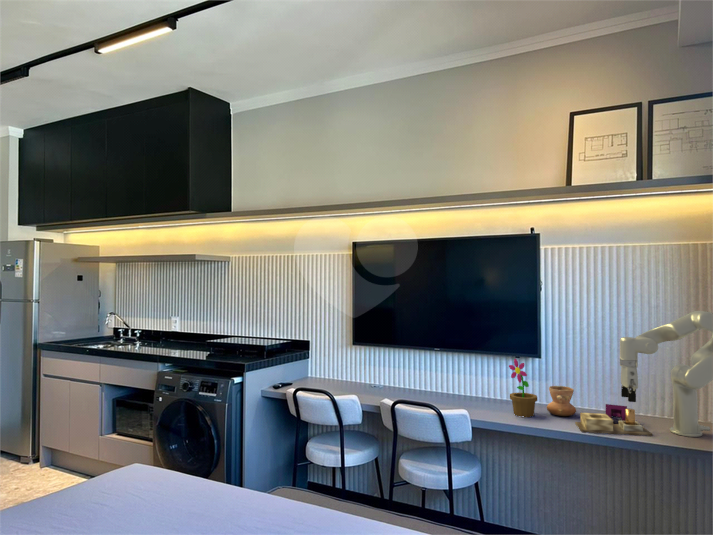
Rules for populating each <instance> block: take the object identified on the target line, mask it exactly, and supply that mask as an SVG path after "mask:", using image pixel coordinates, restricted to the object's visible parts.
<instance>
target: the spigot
mask: <svg viewBox="0 0 713 535" xmlns="http://www.w3.org/2000/svg"><path fill="white" fill-rule="evenodd" d="M625 419H626V425H635V421H636V409H634V408H628V407H627V409H625Z"/></svg>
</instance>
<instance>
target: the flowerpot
mask: <svg viewBox="0 0 713 535" xmlns="http://www.w3.org/2000/svg"><path fill="white" fill-rule="evenodd" d="M513 364H514V365H512V364H509V365H508V368H509V369H510V370H512V371H513V372H512V373H511V374H510V375H511V376H510V377H511V379H514V378H516V379H517V382H518V383H521V385H519V386H517V387H516V388H517V389H518V390H520V391H521V392H512V393H509V399H510V401H511V403H512V410H513V415H514V414H515V415H514V416H516V415H517V416H516V417H519V416H524V417H523V418H531V417H530V416H533V417H534V416H535V407H536V402H538V395H537V394H534V393H530V392H525V388H529V386H530V385H529V382H528V381H526V380H524V377H527V376H528V374H527V373H526V371H524V370H523V369H524V367H525V362H522V363H520V364H519V360H518V359H517V358H514V360H513Z"/></svg>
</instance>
